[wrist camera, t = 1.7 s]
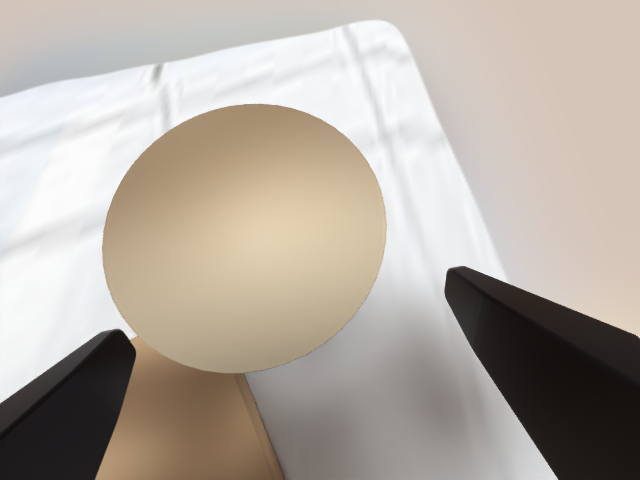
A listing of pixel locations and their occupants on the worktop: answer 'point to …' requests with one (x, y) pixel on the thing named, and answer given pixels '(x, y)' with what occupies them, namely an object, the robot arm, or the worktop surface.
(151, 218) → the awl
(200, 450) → the subfloor panel
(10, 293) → the worktop surface
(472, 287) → the robot arm
